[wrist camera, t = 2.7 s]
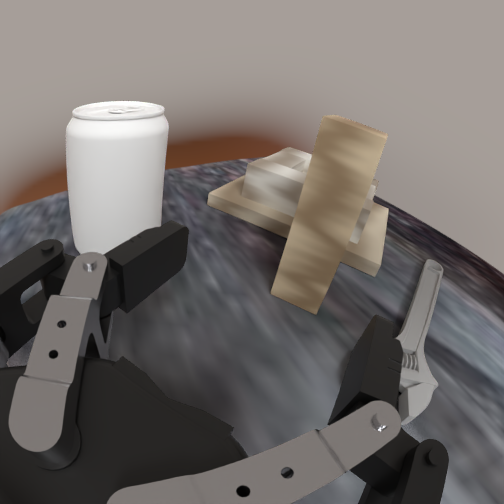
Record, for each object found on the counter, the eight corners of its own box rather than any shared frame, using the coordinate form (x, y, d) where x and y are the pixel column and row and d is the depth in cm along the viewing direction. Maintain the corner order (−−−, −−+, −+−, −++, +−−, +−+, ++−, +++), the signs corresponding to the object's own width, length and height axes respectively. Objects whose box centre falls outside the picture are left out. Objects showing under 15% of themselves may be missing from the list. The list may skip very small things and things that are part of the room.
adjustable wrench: (422, 265, 34) (428, 254, 33) (460, 291, 31) (467, 280, 30) (329, 394, 17) (341, 381, 16) (402, 447, 14) (418, 436, 13)
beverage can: (59, 244, 23) (47, 111, 17) (118, 211, 30) (122, 97, 23) (116, 284, 21) (111, 122, 15) (177, 239, 28) (192, 109, 21)
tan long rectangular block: (329, 284, 27) (388, 133, 19) (315, 314, 23) (386, 139, 15) (290, 266, 28) (336, 114, 20) (270, 293, 24) (322, 116, 16)
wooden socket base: (384, 217, 43) (397, 185, 40) (374, 277, 29) (397, 231, 26) (269, 171, 48) (276, 139, 45) (207, 204, 34) (213, 159, 31)
